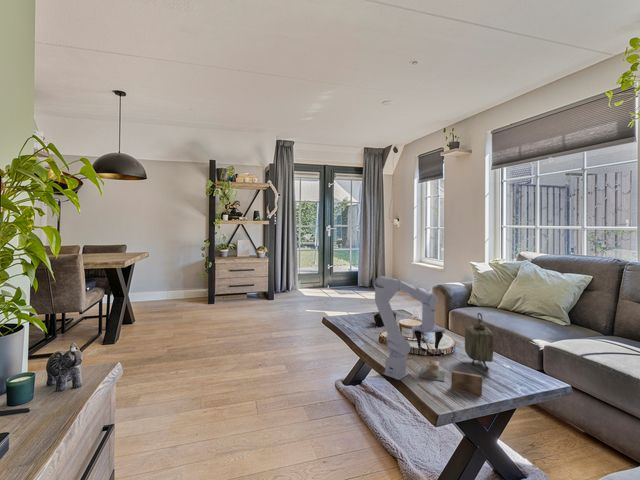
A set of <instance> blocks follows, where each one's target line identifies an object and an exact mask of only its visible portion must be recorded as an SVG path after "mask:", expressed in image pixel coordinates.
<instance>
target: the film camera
mask: <svg viewBox="0 0 640 480" xmlns="http://www.w3.org/2000/svg"><path fill="white" fill-rule="evenodd" d="M393 314H394V317H395V320H396V321H397V319H396V318H397V313H395V312H394V311H393ZM373 320H374V325H375V327H376V326H377V328H379V327H380V326H384V323H383V321H382V318H381V315H380V313H379V312H377V313H376V314H373ZM384 327H385V326H384Z"/></svg>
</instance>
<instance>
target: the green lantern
mask: <svg viewBox="0 0 640 480" xmlns="http://www.w3.org/2000/svg"><path fill="white" fill-rule="evenodd" d="M479 315H480V317H479ZM477 321H478V322H475V323H474V325H469V326H466V327H465V330H464V352H465V353H466V355H467V356H468V358H470V359H471V362H470V363H471V365H473V366H474V365H476V364H475V361H476V362H477V361H478V362H482V364H483V365H484V366H485V368H484V369H485V371H489V369H490V367H489V366H487V363H486V362H488V363H492V362H493V358H494V334H493V332H492V330H490V328H488V327H487V326H486V325H485V324H484V323H483V315H482V313H480V312H478V313H477Z"/></svg>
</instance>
